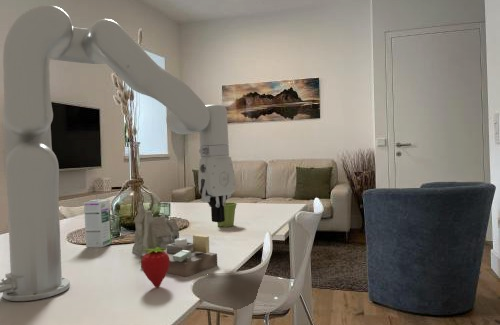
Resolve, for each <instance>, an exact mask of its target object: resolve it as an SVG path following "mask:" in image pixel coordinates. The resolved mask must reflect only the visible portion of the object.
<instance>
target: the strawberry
mask: <svg viewBox="0 0 500 325" xmlns="http://www.w3.org/2000/svg"><path fill="white" fill-rule="evenodd" d="M152 242H153V241H152ZM153 243H154V242H153ZM154 244H155V243H154ZM155 245H156V244H155ZM156 246H157V245H156ZM163 250H166V249H160V248H159V247H157V248H155V250H154V249H145V250H142V251H150V252H148V253H147V254H145V255H144V256H143V258H142V263H141V262H140V266H141V265H142V267H141V269H142V271H143V274H144V275H145V276H146V277H147V279H148V280H149V281H150V283H152V285H153V287H155V288H159V287H160V286H161V284H162V282H163V281H164V279H165V278H166V274H168V273H167V271H168V268H169V263H170V260H169V256H168V255H167V253H165V252H164V251H163Z"/></svg>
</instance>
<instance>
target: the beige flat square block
mask: <svg viewBox="0 0 500 325" xmlns="http://www.w3.org/2000/svg"><path fill="white" fill-rule="evenodd" d="M192 243H193V251H196V252H202V253H208V252H210V236H209V235H202V234H193V235H192Z"/></svg>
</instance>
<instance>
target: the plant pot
mask: <svg viewBox="0 0 500 325" xmlns="http://www.w3.org/2000/svg"><path fill="white" fill-rule="evenodd" d="M237 205H238V203H237V202H231V201H230V202H227V201H226V205H225V206H224V216H225V221H224V222H216V223H217V227H220V228H222V227H224V228H228V227H229V228H230V227H233V226H234V225H235V224H234V222H235V212H236V208H237Z"/></svg>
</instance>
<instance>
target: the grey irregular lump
mask: <svg viewBox="0 0 500 325" xmlns="http://www.w3.org/2000/svg"><path fill="white" fill-rule="evenodd" d="M137 206H138V207H137V214H136V216H135V217H134V218H133V222H134V224H135V225H134V226H135V232H134V242H133V246H132V251H131V252H132V254H135V255H138V256H140V257H141V255H143V254H147V253H148V252H150V251H142V250H145V249H154V250H155V248H157V247H159V248H160V249H165V248H167V245H169V244H173V243H175V239H178V238H180V232H179V231H180V228H179V225H178V222H176V220H169V219H166V215H164V214H162V215H160V216H157V217H154V216H153V212H152V210H148V209H145V206H144V205H143V202H142V201H139V202H138V203H137ZM152 241H153V242H154V243H155V244H156V245H157V246H156V245H155V244H154V243H153V242H152Z"/></svg>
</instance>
